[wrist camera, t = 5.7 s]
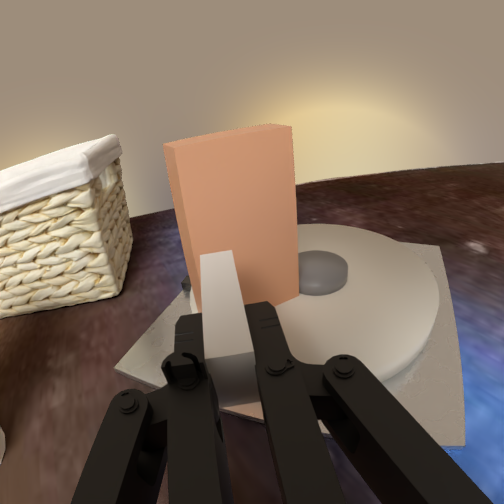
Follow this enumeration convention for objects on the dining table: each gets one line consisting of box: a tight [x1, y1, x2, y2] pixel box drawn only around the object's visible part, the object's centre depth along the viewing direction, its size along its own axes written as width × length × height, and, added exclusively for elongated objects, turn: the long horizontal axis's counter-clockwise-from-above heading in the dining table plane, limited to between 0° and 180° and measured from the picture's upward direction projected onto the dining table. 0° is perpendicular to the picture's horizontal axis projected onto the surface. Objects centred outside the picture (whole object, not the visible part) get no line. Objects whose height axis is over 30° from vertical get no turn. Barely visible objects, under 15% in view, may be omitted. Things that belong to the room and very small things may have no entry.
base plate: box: [114, 242, 465, 450], centre depth 26 cm, size 24×24×1 cm
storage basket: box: [0, 134, 133, 319], centre depth 31 cm, size 24×16×15 cm
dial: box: [163, 124, 439, 382], centre depth 23 cm, size 20×20×14 cm
